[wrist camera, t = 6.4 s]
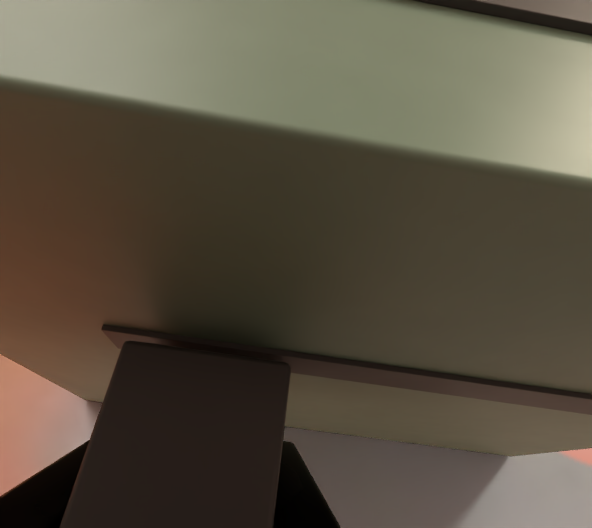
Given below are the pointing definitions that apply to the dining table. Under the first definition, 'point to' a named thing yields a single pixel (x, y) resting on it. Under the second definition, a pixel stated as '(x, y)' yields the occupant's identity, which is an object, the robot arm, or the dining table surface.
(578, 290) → the toaster
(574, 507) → the dining table surface
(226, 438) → the slider
